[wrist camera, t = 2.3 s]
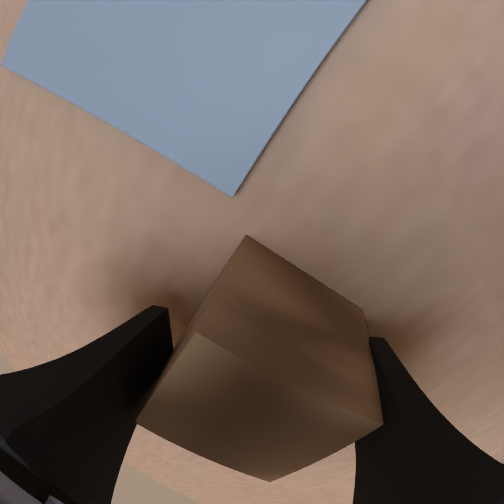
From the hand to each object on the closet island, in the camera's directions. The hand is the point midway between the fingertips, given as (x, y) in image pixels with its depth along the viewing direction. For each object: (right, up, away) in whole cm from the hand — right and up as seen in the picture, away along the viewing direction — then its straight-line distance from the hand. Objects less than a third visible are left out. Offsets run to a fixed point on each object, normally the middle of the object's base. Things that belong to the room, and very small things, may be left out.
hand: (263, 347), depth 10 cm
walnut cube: (0, +1, +1) cm, 1 cm away
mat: (-2, +14, -4) cm, 15 cm away
